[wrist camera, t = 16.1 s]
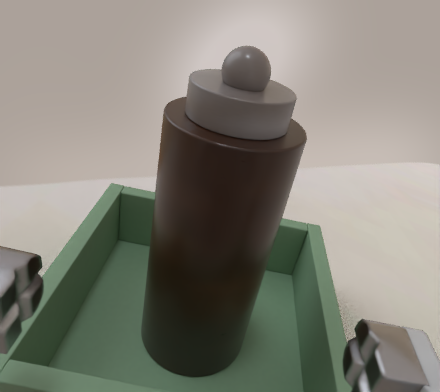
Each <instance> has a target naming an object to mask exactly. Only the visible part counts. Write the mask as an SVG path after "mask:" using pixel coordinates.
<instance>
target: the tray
mask: <svg viewBox="0 0 440 392" xmlns="http://www.w3.org/2000/svg"><path fill="white" fill-rule="evenodd" d="M154 201H155V192H150V191H145V190H141V189H136V188H131V187H124V186H123V185H118V184H113V183H111V184H110V186H109V187H108V189H107V190H106V191H105V193H104V194H103V195H102V197H101V198H100V199H99V201H98V202H97V203H96V205H95V206H94V208H93V209H92V210H91V212H90V213H89V214H88V216H87V217H86V218H85V220H84V221H83V222H82V224H81V225H80V227H79V228H78V229H77V231H76V232H75V233H74V235H73V236H72V237H71V239H70V240H69V241H68V243H67V244H66V245H65V247H64V248H63V250H62V251H61V252H60V254H59V255H58V256H57V258H56V259H55V260H54V262H53V263H52V264H51V266H50V267H49V269H48V270H47V271H46V273H45V274H44V275H43V277H42V279H43V281H44V290H43V297H42V299H41V302H40V304H39V307H38V309H37V310H36V312H35V313H34V315H33V316H32V317H31V318H29V319H27V320H25V321H23V322H22V323H21V325H22V333H21V334H20V335H19V337H18V338H17V340H16V341H15V343H14V344H13V346H12V347H11V349H10V350H9V351H8V353H7V354H1V353H0V392H351V390H352V387H351V386H350V385H349V384H348V383H347V381H346V380H345V379H344V373H343V362H342V360H343V354H344V349H345V347H346V345H347V342H346V337H345V333H344V328H343V324H342V320H341V315H340V311H339V307H338V302H337V298H336V294H335V289H334V285H333V280H332V276H331V272H330V267H329V263H328V259H327V254H326V250H325V245H324V241H323V237H322V232H321V228H320V226H318V225H314V224H309V223H307V224H306V223H302V222H297V221H293V220H288V219H283V218H282V219H281V223H280V226H279V229H278V232H277V235H276V239H275V242H274V245H273V248H272V251H271V254H270V258H269V261H268V264H267V267H266V270H265V273H264V277H263V280H262V283H261V286H260V289H259V293H258V296H257V299H256V302H255V305H254V308H253V312H252V315H251V318H250V321H249V324H248V328H247V331H246V334H245V337H244V340H243V343H242V347H241V350H240V352H239V354H238V356H237V357H236V359H235V360H234V361H233V362H232V363H231V364H230V365H229V366H228V367H226V368H225V369H223V370H221V371H220V372H217V373H215V374H212V375H208V376H201V377H190V376H183V375H179V374H176V373H173V372H171V371H169V370H167V369H165V368H163V367H162V366H161V365H159V364H158V363H157V362H156V361H155V360H154V359H153V358H152V357H151V356H150V355H149V353H148V352H147V350H146V348H145V346H144V344H143V341H142V336H141V325H142V316H143V306H144V297H145V287H146V277H147V268H148V258H149V249H150V239H151V229H152V220H153V210H154Z"/></svg>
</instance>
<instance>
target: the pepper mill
mask: <svg viewBox="0 0 440 392" xmlns="http://www.w3.org/2000/svg"><path fill="white" fill-rule="evenodd" d="M270 76H271V66H270V63H269V60H268V58H267V56H266V55H265V54H264V53H263V52H262V51H260V50H259V49H257V48H255V47H252V46H242V47H238V48H236V49H234V50H233V51H231V52H230V53H229V54H228V56H227V57H226V58H225V60H224V62H223V65H222V70H219V69H206V70H199V71H195V72H193V73H192V74H191V75H190V76H189V83H188V91H187V97H182V98H179V99H176V100H173V101H171V102H169V103H168V104H167V106H166V107H165V109H164V114H163V124H162V133H161V143H160V153H159V162H158V172H157V181H156V191H155V201H154V210H153V220H152V229H151V239H150V249H149V258H148V268H147V277H146V287H145V297H144V306H143V316H142V325H141V336H142V341H143V344H144V346H145V348H146V350H147V352H148V353H149V355H150V356H151V357H152V358H153V359H154V360H155V361H156V362H157V363H158V364H159V365H161V366H162V367H163V368H165V369H167V370H169V371H171V372H173V373H176V374H179V375H183V376H190V377H201V376H208V375H212V374H215V373H217V372H220V371H221V370H223V369H225V368H226V367H228V366H229V365H230V364H231V363H232V362H233V361H234V360H235V359H236V357H237V356H238V354H239V352H240V350H241V347H242V343H243V340H244V337H245V334H246V331H247V328H248V324H249V321H250V318H251V315H252V312H253V308H254V305H255V302H256V299H257V296H258V293H259V289H260V286H261V283H262V280H263V277H264V273H265V270H266V267H267V264H268V261H269V258H270V254H271V251H272V248H273V245H274V242H275V239H276V235H277V232H278V229H279V226H280V223H281V219H282V216H283V213H284V210H285V207H286V204H287V200H288V197H289V194H290V191H291V188H292V184H293V181H294V178H295V175H296V172H297V169H298V165H299V162H300V159H301V156H302V153H303V150H304V146H305V143H306V140H307V137H306V133H305V130H304V129H303V128H302V127H301V126H300V125H299V124H298V123H297V122H296V121H294V120H293V119H291V117H292V113H293V110H294V106H295V102H296V94H295V93H294V92H293V91H292V90H291V89H289V88H287V87H286V86H284V85H282V84H280V83H277V82H275V81H272V80H270Z"/></svg>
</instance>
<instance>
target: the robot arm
mask: <svg viewBox="0 0 440 392" xmlns="http://www.w3.org/2000/svg"><path fill="white" fill-rule="evenodd" d="M41 268H42V261H41V256H39V255H37V254H33V253H29V252H24V251H20V250H15V249H11V248H7V247H2V246H0V353H1V354H7V353H8V351H9V350H10V349H11V347H12V346H13V344H14V343H15V341H16V340H17V338H18V337H19V335H20V334H21V333H22V325H21V323H22V322H23V321H25V320H27V319H29V318H31V317H32V316H33V315H34V313H35V312H36V310H37V309H38V307H39V304H40V302H41V299H42V297H43V290H44V281H43V279H42V278H41V277H40V275H39V274H38V272H39V271H40V269H41ZM355 333H356V337H355V338H353V339H351V340H349V341H348V343H347V345H346V347H345V349H344V354H343V360H342V362H343V373H344V379H345V380H346V381H347V383H348V384H349V385H350V386H351V387H352V390H351V392H440V361H439V359H438V357H437V355H436V352H435V350H434V348H433V346H432V344H431V342H430V340H429V338H428V335H427V334H426V333H425V332H424V331H423V330H418V329H413V328H408V327H400V326H396V325H391V324H386V323H381V322H375V321H370V320H365V319H362V320H360V321H359V322H358V324H357V325H356V327H355Z"/></svg>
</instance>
